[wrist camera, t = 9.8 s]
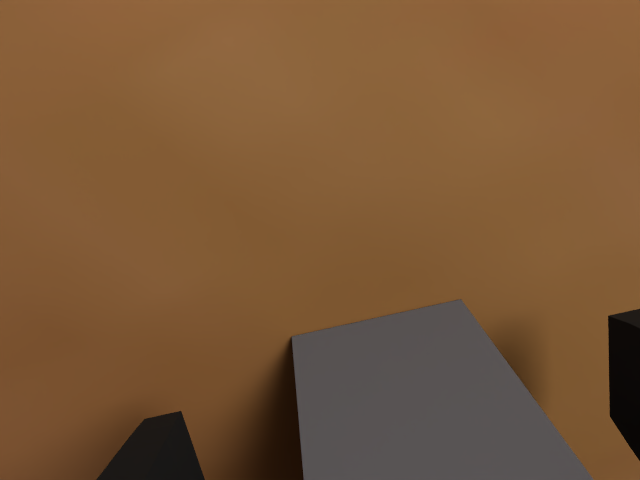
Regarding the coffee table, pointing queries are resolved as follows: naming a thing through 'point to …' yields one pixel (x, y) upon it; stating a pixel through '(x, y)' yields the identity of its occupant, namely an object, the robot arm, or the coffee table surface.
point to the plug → (420, 404)
